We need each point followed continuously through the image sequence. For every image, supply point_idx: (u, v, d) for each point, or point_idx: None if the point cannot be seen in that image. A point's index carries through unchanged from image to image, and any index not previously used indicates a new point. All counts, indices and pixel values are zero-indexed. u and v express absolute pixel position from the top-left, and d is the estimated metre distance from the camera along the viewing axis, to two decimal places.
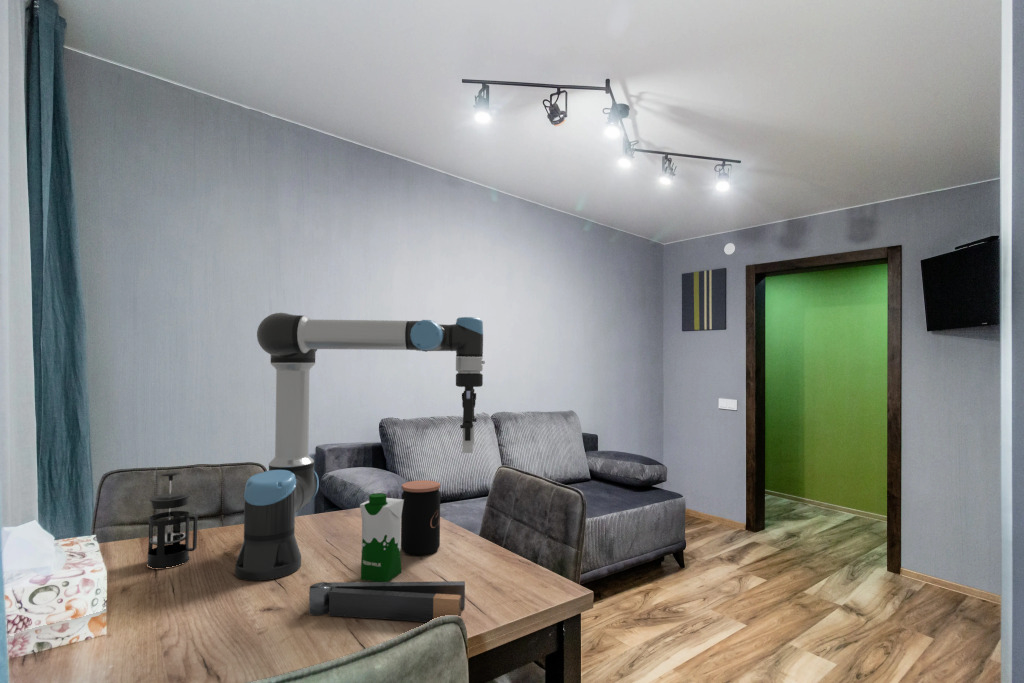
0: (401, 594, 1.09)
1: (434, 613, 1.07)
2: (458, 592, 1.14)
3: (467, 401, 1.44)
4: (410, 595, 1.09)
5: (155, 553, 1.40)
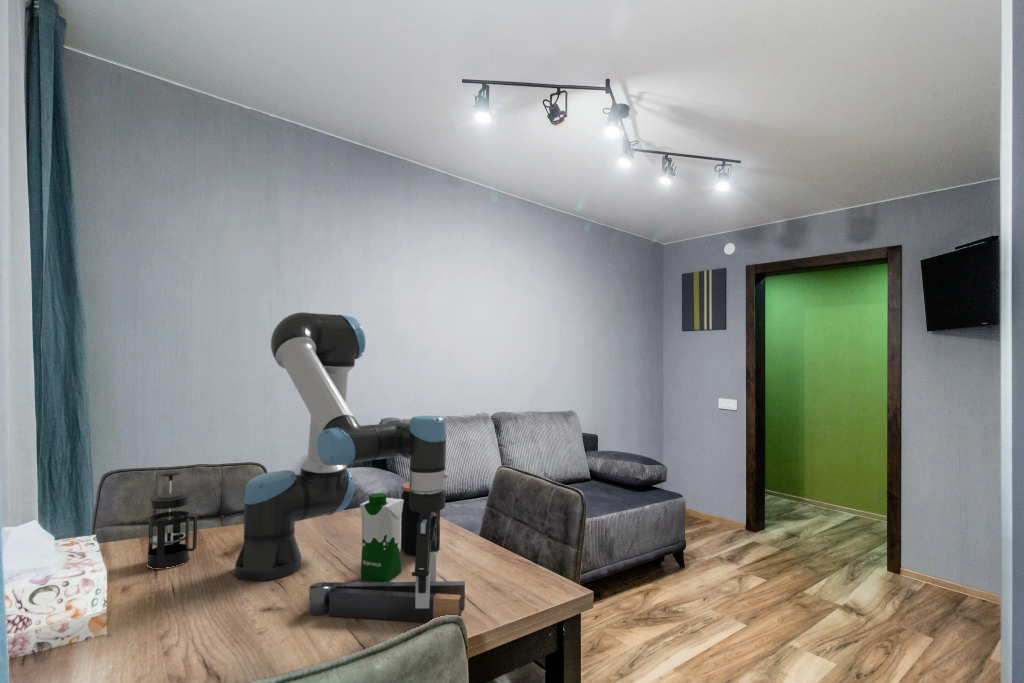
0: (401, 594, 1.09)
1: (434, 613, 1.07)
2: (458, 592, 1.14)
3: (421, 538, 1.07)
4: (410, 595, 1.09)
5: (155, 553, 1.40)
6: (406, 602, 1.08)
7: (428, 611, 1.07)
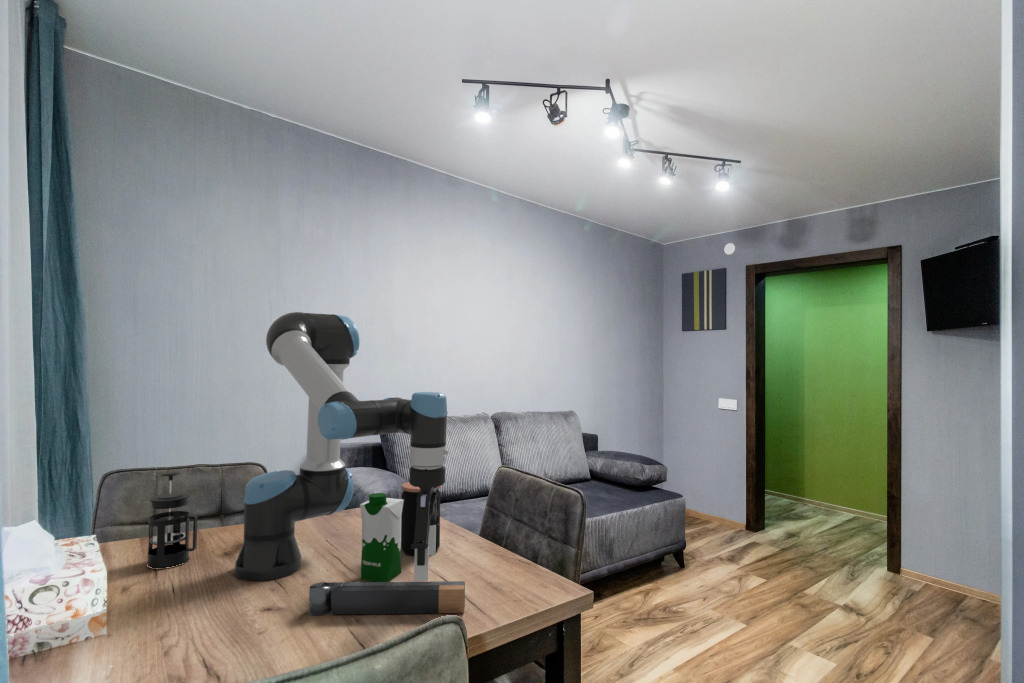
0: (406, 588, 1.12)
1: (439, 604, 1.11)
2: None
3: (421, 511, 1.07)
4: (415, 588, 1.12)
5: (155, 553, 1.40)
6: (411, 595, 1.11)
7: (433, 602, 1.11)
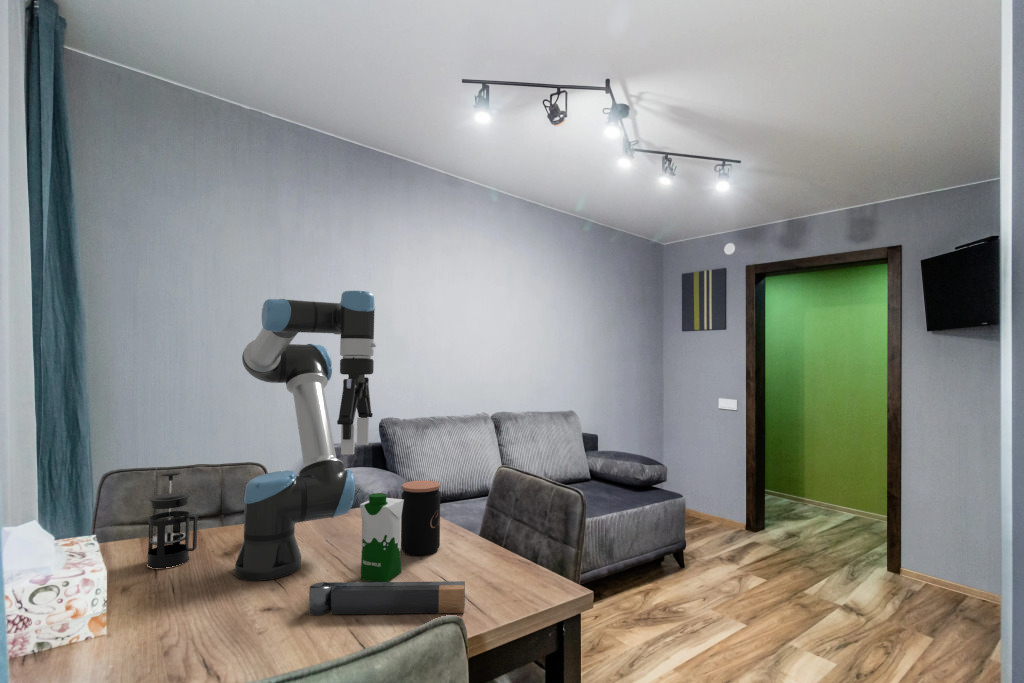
0: (406, 588, 1.12)
1: (439, 604, 1.11)
2: None
3: (347, 391, 1.18)
4: (415, 588, 1.12)
5: (155, 553, 1.40)
6: (411, 595, 1.11)
7: (433, 602, 1.11)
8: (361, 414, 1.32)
